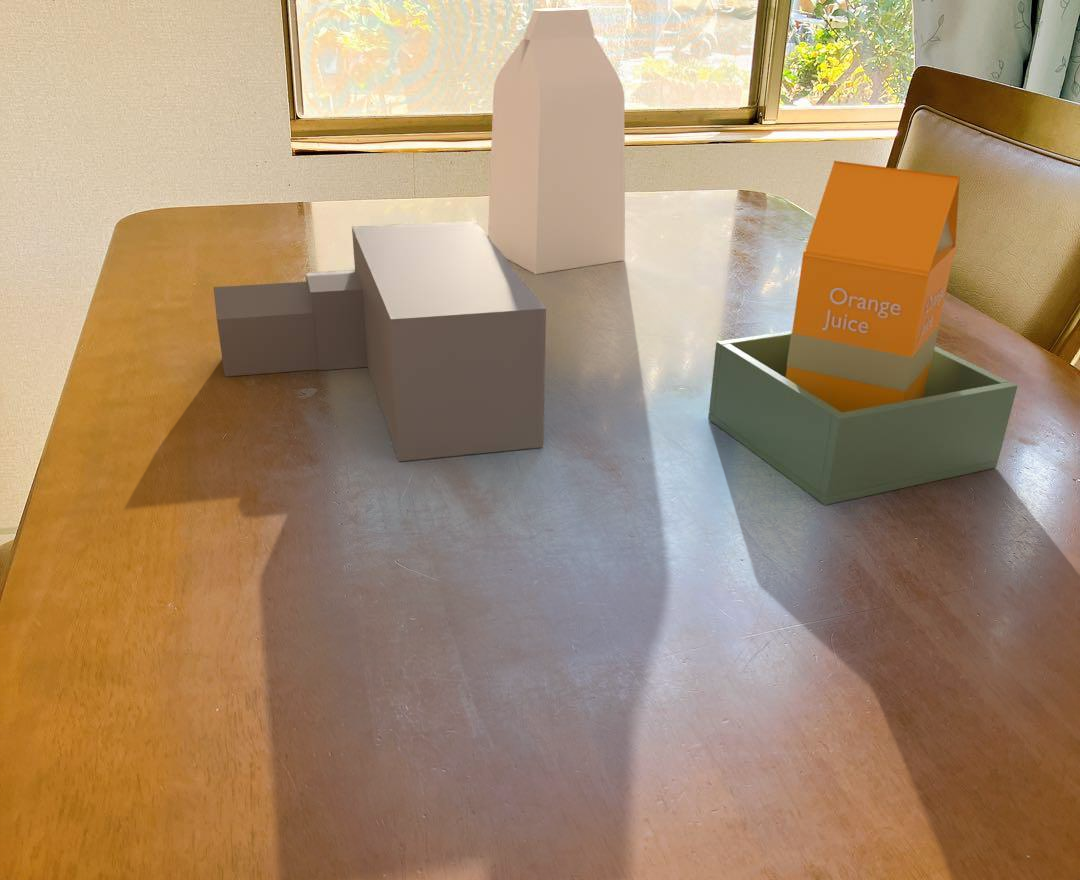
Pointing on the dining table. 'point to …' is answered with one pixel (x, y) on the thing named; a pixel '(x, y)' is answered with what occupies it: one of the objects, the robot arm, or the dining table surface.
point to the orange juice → (873, 285)
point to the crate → (858, 423)
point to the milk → (558, 149)
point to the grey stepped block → (409, 336)
